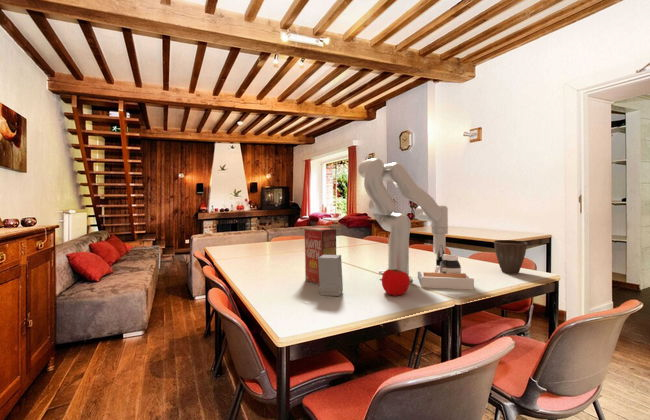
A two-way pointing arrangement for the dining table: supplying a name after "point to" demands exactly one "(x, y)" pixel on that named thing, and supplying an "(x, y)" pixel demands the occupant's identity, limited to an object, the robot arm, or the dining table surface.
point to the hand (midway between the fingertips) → (439, 267)
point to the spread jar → (449, 264)
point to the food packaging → (317, 249)
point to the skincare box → (330, 275)
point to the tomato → (395, 282)
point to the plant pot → (510, 255)
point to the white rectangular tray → (446, 282)
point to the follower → (444, 275)
